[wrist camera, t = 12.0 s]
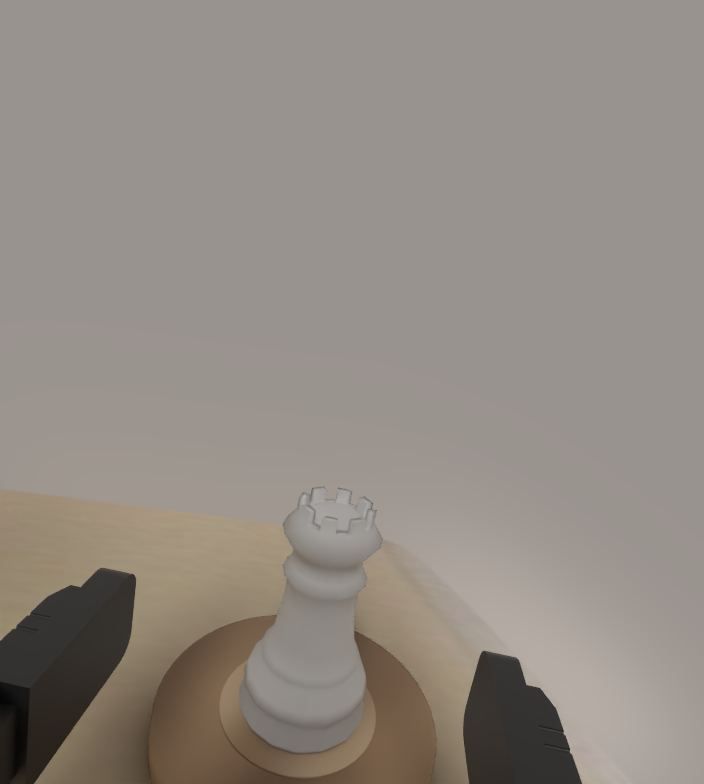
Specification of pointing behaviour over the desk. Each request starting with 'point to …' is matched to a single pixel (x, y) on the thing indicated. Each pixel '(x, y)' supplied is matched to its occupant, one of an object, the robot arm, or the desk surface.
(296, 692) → the rook chess piece
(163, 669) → the desk surface
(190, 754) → the handwheel with crank handle
